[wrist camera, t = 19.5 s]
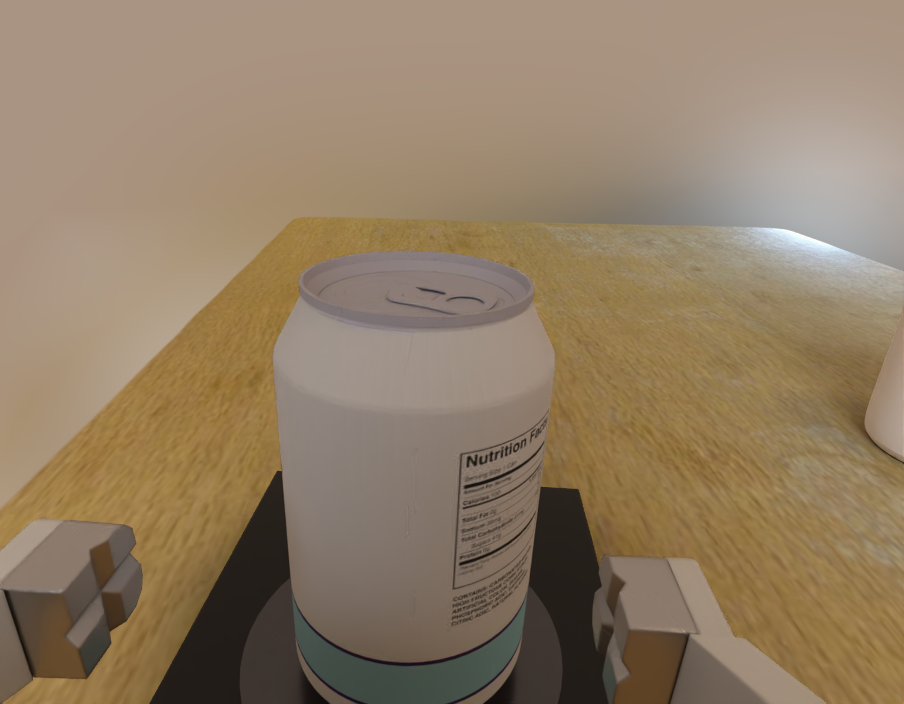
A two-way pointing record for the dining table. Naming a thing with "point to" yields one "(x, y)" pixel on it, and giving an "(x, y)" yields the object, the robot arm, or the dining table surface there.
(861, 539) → the dining table surface
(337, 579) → the beverage can
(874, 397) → the mug
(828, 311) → the dining table surface
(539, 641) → the hob
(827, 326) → the dining table surface
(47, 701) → the dining table surface
